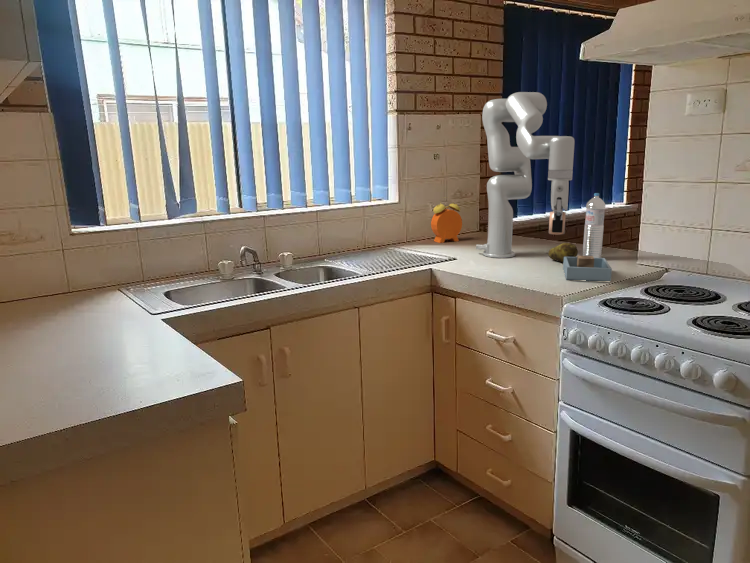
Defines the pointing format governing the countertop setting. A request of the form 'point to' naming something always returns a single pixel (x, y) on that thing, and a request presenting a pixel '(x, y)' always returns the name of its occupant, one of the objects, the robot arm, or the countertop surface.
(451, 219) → the alarm clock
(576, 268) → the tote
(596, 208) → the water bottle
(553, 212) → the cylinder
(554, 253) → the potato
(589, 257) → the cube
